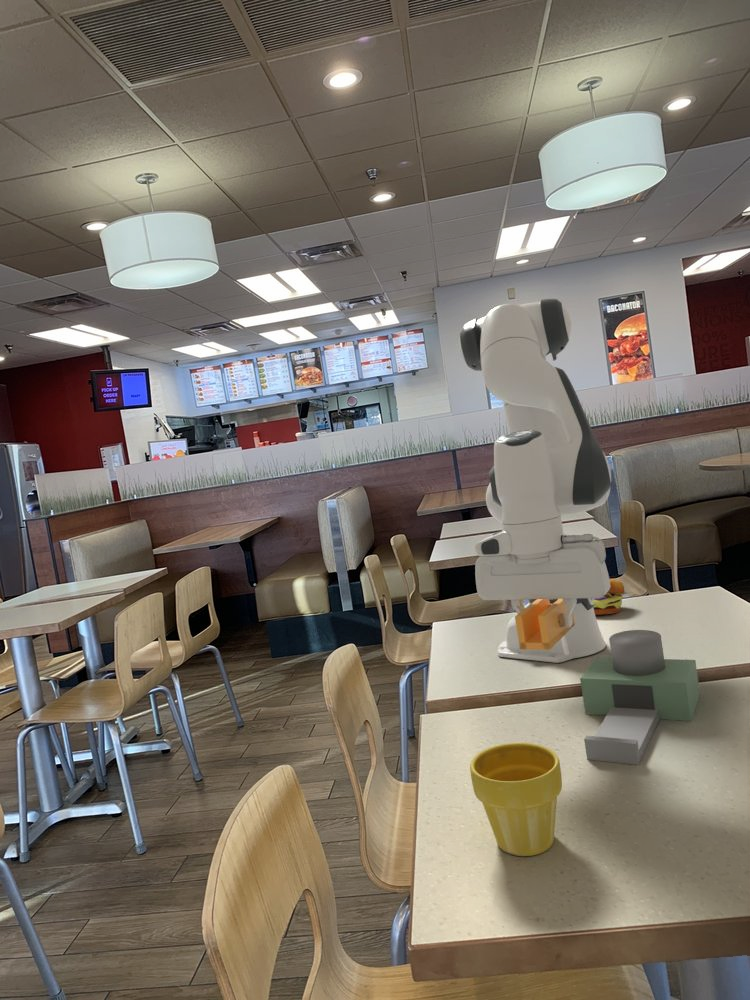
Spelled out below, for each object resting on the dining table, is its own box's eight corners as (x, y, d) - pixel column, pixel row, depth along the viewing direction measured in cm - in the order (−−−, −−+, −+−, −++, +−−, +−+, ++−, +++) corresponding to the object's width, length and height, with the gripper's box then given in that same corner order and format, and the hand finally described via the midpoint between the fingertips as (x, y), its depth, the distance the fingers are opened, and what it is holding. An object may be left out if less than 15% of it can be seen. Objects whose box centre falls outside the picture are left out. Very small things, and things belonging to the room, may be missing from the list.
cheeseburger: (569, 613, 172) (571, 573, 173) (603, 613, 177) (605, 574, 177) (597, 619, 163) (599, 576, 163) (632, 619, 167) (634, 577, 168)
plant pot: (550, 808, 88) (538, 734, 87) (586, 853, 78) (573, 769, 77) (471, 827, 86) (459, 752, 86) (498, 876, 76) (484, 791, 76)
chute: (519, 649, 103) (514, 616, 103) (547, 624, 113) (542, 594, 113) (549, 649, 100) (544, 616, 100) (575, 624, 110) (570, 594, 110)
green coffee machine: (556, 756, 101) (545, 683, 100) (601, 690, 122) (592, 629, 121) (673, 768, 92) (662, 688, 92) (700, 695, 113) (691, 630, 113)
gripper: (608, 528, 102) (621, 620, 103) (482, 538, 114) (494, 620, 115) (596, 537, 97) (610, 633, 98) (465, 546, 109) (478, 632, 110)
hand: (547, 626), depth 107 cm, fingers closed on chute, 5 cm apart
